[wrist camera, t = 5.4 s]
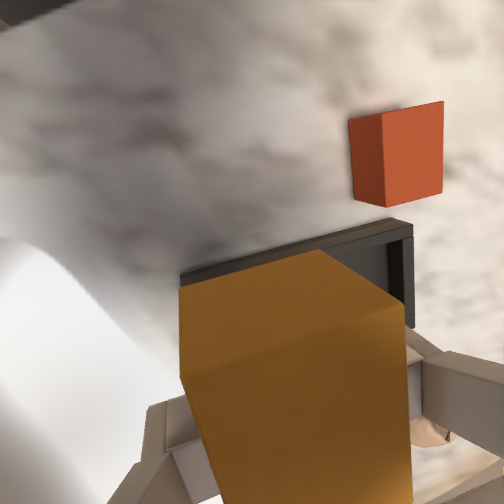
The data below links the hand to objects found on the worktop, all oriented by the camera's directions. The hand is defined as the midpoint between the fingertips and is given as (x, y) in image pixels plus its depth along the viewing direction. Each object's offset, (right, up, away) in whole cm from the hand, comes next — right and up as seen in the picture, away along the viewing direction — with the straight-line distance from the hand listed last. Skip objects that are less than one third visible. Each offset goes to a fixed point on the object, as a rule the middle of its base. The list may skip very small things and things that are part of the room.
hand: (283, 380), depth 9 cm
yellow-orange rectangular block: (0, 0, +2) cm, 2 cm away
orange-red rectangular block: (+9, +11, +15) cm, 21 cm away
